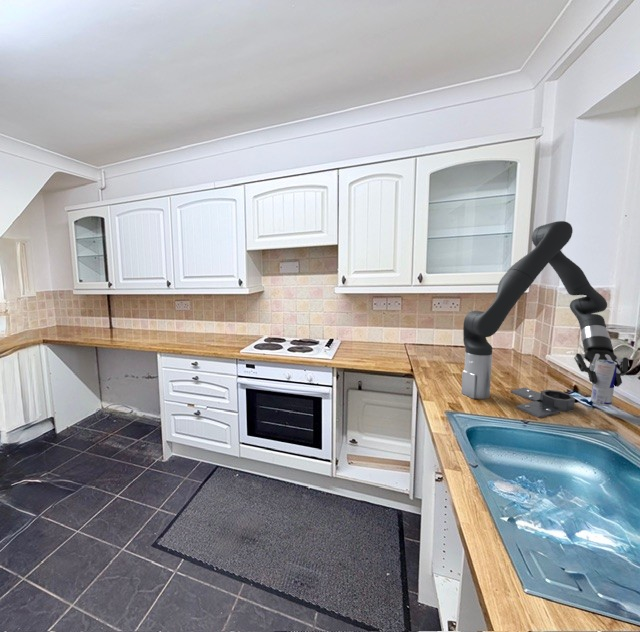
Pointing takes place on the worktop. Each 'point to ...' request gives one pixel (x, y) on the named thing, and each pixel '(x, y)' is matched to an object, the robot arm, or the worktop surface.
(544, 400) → the grey can holder
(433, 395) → the worktop surface
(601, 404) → the beverage can
